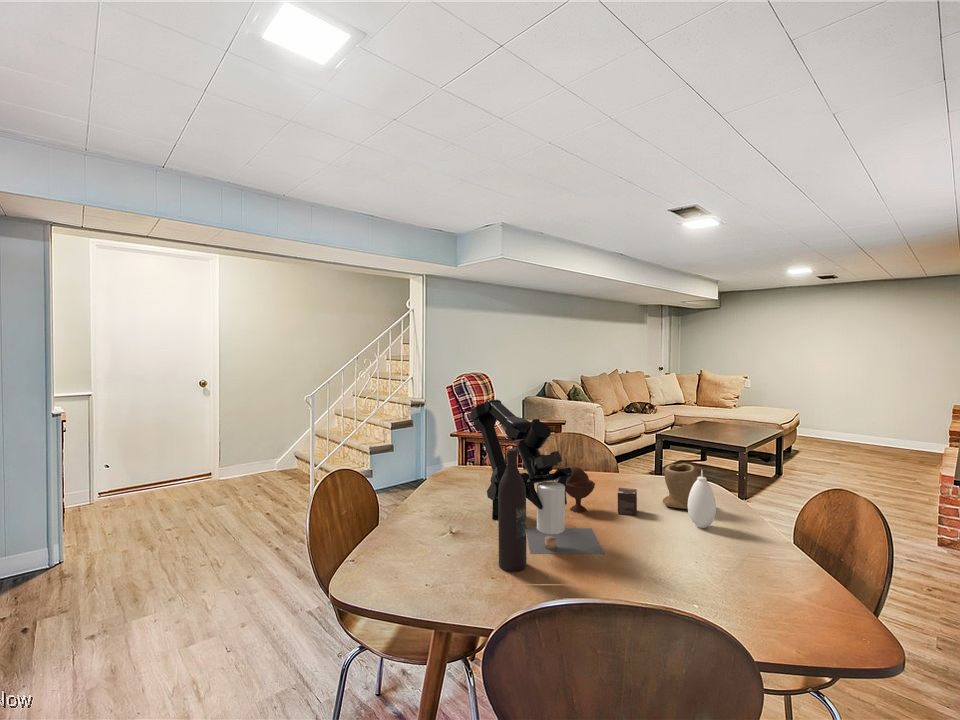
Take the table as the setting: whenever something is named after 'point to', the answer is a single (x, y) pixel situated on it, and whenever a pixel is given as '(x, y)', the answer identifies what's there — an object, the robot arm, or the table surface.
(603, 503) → the table surface
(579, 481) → the ice cream bowl
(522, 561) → the wine bottle
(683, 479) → the stone cup
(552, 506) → the cover cup
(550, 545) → the pinkish tan round piece
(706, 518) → the white air blower bulb
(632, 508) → the box
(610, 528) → the table surface
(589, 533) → the mat
